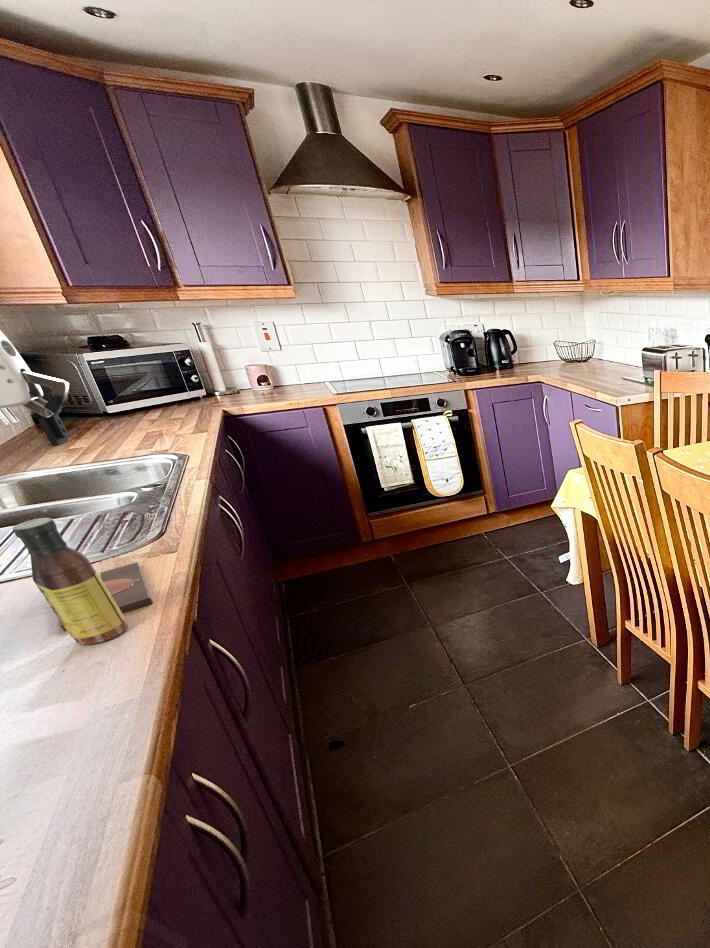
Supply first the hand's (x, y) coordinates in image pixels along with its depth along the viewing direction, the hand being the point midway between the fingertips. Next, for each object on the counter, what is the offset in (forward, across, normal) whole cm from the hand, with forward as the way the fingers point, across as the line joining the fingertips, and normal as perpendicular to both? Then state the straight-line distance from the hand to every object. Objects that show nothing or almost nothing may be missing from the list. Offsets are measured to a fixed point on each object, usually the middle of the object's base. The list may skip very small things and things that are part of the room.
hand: (14, 449), depth 82 cm
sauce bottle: (+30, +1, +2) cm, 30 cm away
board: (+30, +6, -16) cm, 34 cm away
